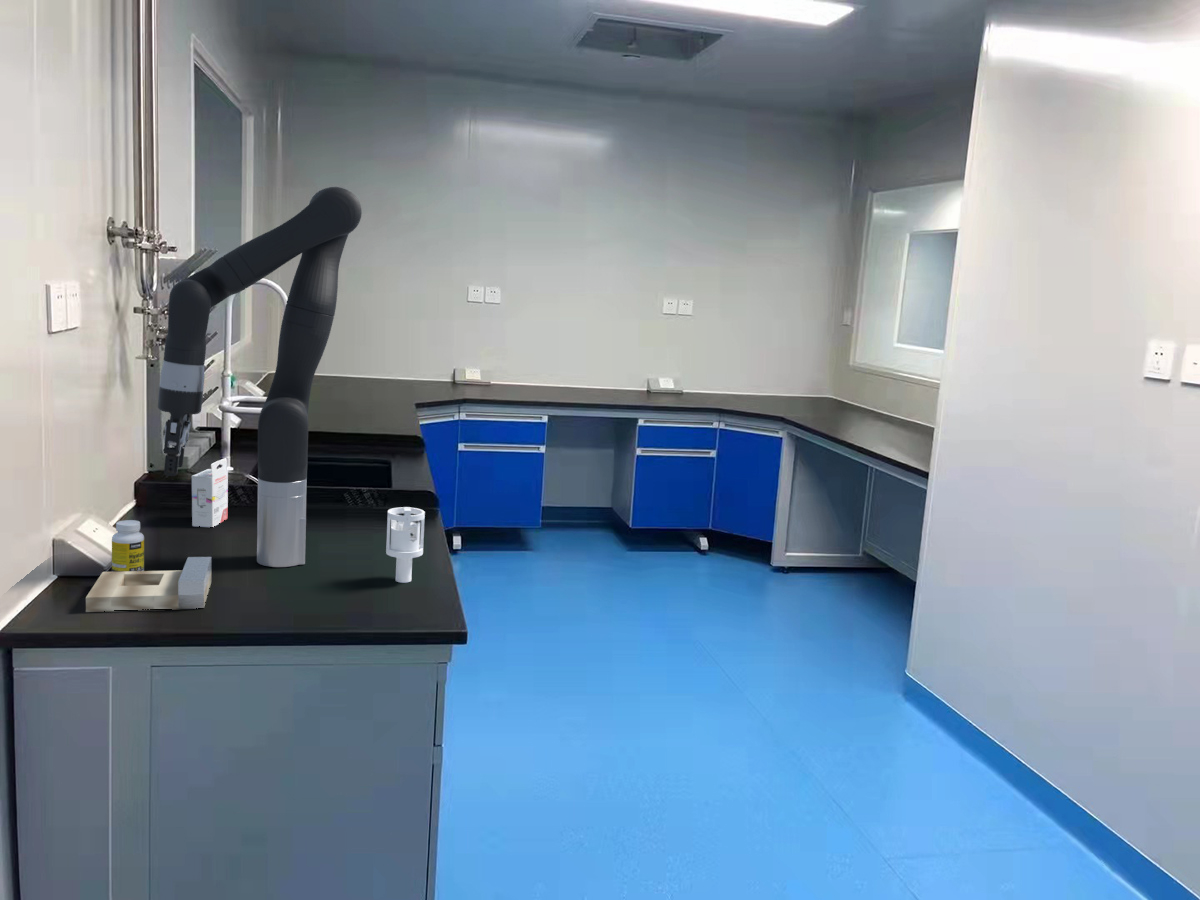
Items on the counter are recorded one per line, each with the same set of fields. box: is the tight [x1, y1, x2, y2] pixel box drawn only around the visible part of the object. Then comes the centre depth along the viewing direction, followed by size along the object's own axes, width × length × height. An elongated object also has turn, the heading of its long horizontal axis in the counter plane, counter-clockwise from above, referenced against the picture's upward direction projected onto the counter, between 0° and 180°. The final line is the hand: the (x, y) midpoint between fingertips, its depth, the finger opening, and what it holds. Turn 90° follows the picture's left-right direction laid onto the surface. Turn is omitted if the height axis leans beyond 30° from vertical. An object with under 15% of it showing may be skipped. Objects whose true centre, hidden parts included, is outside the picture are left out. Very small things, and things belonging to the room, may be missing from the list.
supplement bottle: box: [111, 519, 145, 572], centre depth 173 cm, size 5×5×10 cm
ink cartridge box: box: [191, 457, 229, 528], centre depth 211 cm, size 9×5×15 cm, turn 179°
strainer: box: [385, 506, 426, 584], centre depth 181 cm, size 7×7×15 cm
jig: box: [85, 556, 212, 613], centre depth 162 cm, size 18×14×5 cm
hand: (173, 470), depth 176 cm, fingers open, 8 cm apart
